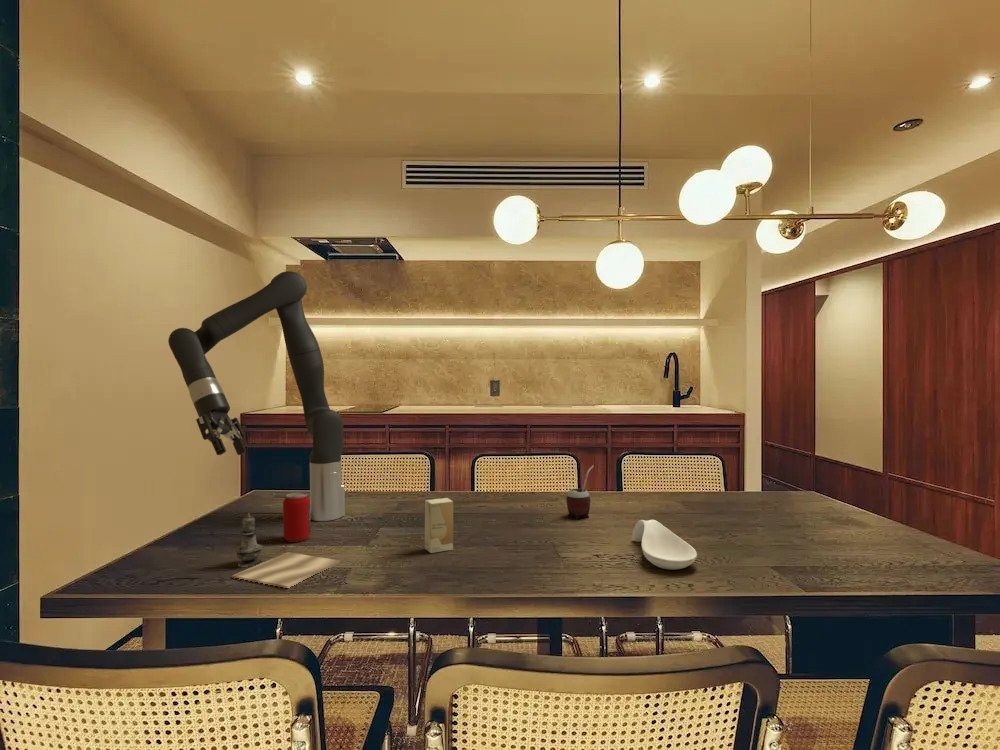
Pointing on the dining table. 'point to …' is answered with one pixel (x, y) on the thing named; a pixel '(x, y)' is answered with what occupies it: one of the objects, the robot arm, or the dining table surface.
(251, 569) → the birch board
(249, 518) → the grey chess piece
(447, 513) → the skincare box
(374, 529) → the dining table surface
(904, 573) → the dining table surface
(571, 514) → the mate gourd
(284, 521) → the beverage can
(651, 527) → the spoon rest
